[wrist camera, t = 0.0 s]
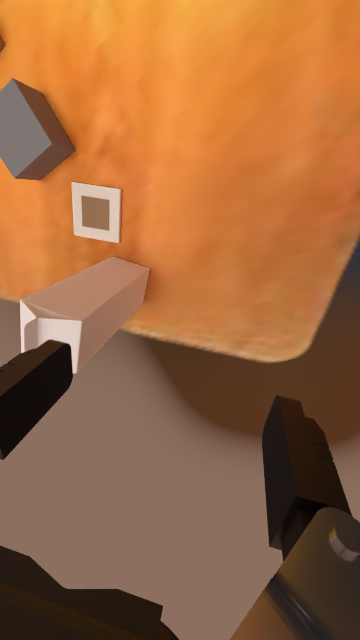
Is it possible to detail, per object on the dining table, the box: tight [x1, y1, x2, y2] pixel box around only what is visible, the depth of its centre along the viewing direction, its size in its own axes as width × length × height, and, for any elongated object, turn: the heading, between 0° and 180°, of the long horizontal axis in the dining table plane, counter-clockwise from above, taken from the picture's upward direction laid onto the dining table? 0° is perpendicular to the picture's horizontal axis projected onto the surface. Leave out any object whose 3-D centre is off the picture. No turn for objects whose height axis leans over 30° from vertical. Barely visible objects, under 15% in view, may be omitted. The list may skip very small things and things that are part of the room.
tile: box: [72, 182, 122, 243], centre depth 37 cm, size 7×7×1 cm
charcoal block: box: [0, 78, 75, 180], centre depth 33 cm, size 7×7×5 cm
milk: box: [20, 256, 150, 373], centre depth 31 cm, size 6×6×22 cm
